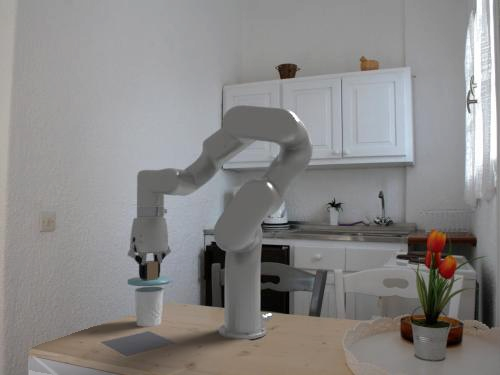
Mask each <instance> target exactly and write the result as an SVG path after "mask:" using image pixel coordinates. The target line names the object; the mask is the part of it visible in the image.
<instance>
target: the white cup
mask: <svg viewBox="0 0 500 375" xmlns="http://www.w3.org/2000/svg"><path fill="white" fill-rule="evenodd" d="M134 300H135V301H134V302H135V303H134V305H135V318H136V325H137V326H138V327H146V328H147V327H155V326H158V325H160V324H162V315H163V302H164V288H163V287H161V286H141V287H137V288H135V289H134Z"/></svg>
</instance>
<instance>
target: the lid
mask: <svg viewBox="0 0 500 375" xmlns="http://www.w3.org/2000/svg"><path fill="white" fill-rule="evenodd" d="M146 265H147V279H141V278H140V276H136V277H132V278H128V279H127V284H128V285H130V286H135V287H158V286H163V285H168V284H170V283H172V278H171V277H169V276H164V275H160V277H159V278H158V262H157V261H154V260H146Z"/></svg>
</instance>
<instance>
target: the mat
mask: <svg viewBox="0 0 500 375" xmlns="http://www.w3.org/2000/svg"><path fill="white" fill-rule="evenodd" d="M101 343H102V344H104V345H105V346H107V347H110V348H111V349H113V350H115V351H117V352H118V353H120V354H122V355H124V356H126V357H129V356H132V355H137V354H139V353H140V354H141V353H144V352H147V351H148V352H149V351H152V350H155V349H159V348H162V347H166V346H170V345H174V344H177V342H176V341H174V340H171V339H168V338H167V337H164V336H161V335H159V334H157V333H154V332H151V331H150V330H148V331H143V332H140V333H134V334H132V335H131V334H130V335H126V336H121V337H116V338H113V339H108V340H104V341H103V340H102V341H101Z"/></svg>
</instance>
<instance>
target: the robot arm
mask: <svg viewBox="0 0 500 375" xmlns="http://www.w3.org/2000/svg"><path fill="white" fill-rule="evenodd" d="M257 141H259V142H266V143H267V142H268V143H275V144H276V145H278V146H280V150H279V153H278V154H277V156H276V157H275V158H274V159H272V161H271V162H270V164H269V166H268V167H267V168H266V170H265V171H264V173H263V174H262V175H261V176H260V178H253V179H250V180H248V181H246V182H245V183H243V185H241V186H240V188H239V189H238V190H237V192H235V194H234V196H233V197H232V199H231V200H230V201H229V202H228V204H227V206H226V207H225V209H224V210H223V212H222V213H221V215H220V216H219V217H218V219H217V220H216V222H215V225H214V228H213V240H214V242H215V243H216V245H217V247H218V248H220V249H221V250H222V251H225V258H224V259H225V261H224V324H223V325H221V326H219V328H218V334H219V335H220V336H223V337H225V338H228V339H229V338H230V339H237V340H254V339H255V340H256V339H260V338H262V337H263V336H266V334H267V327H266V326H265V325H264V324H265V322H269V321H272V320H273V314H272V313H271V312H268V313H264V314H263V313H261V259H262V248H263V247H262V245H263V228H262V224H263V222H264V221H265V219H266V218H267V217H269V216H272V215H274V214H276V213H277V212H278V210H280V209H281V207H282V205H283V203H284V202H285V200H286V199H287V197H289V195H290V193H291V192H292V191H293V189H294V188H295V185H297V182H298V181H299V180H300V178H301V177H302V176H303V175H304V173H305V172H306V170H307V168H308V167H309V164H310V162H311V159H312V156H313V141H312V138H311V135H310V133H309V131H308V129H307V127H306V126H305V124H304V123H303V122H302V120H301V119H300V118H299V117H298V116H297V114H295V113H294V112H293V111H291V110H289V109H286V108H279V107H270V106H269V107H267V106H255V105H245V104H244V105H235V106H232V107H230V108H229V109H228V110H227V111H226V112H225V113H224V115H223V117H222V127H221V128H219V129H218V130H216V131H215V132H214V133H212V134H211V135H210V136H208V137H207V138H205V139H204V141H203V142H202V150H201V154H200V155H199V157H198V158H196V160H194V162H192V163H191V164H190V165H188V166H187V167H186V168H185V169H179V168H172V167H170V168H169V167H167V168H162V169H142V170H139V171H138V173H137V176H136V180H137V181H136V217H135V218H133V220H132V225H131V230H130V232H131V233H130V239H129V241H130V242H129V250H128V252H127V257H130V258H131V259H133V260H134V261H135V262H136V263H137V265H138V277H140V278H141V279H147V265H146V261H147V257H148V256H147V254H152V257H153V261H157V262H158V278H159V277H160V276H161V275H160V274H161V264H162V263H163V260H165V258H166V256H168V255H169V254H171V252H172V250H171V248H170V246H169V234H168V233H169V232H168V224H167V220H166V219H167V218H166V217H164V216H165V214H167V213H168V209H167V208H165V195H166V196H179V197H180V196H182V197H185V196H189V195H191V194H193V193H195V192H196V191H198V190H199V189H201V188H202V187H203V186H204V185H206V184H207V183H208V182H209V181H211V180H212V179H213V178H214V177H215V175H216V174H217V173H218V172H219V171H220V170H221V168H222V167H223V166H224V165H225V164H226V163H228V162H230V161H231V160H232V159H233V158H234V157H236V156H237V155H239V154H240V153H241V152H243V151H244V150H246V149H247V148H249V147H250V146H251V145H253V144H254V143H255V142H257Z"/></svg>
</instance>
